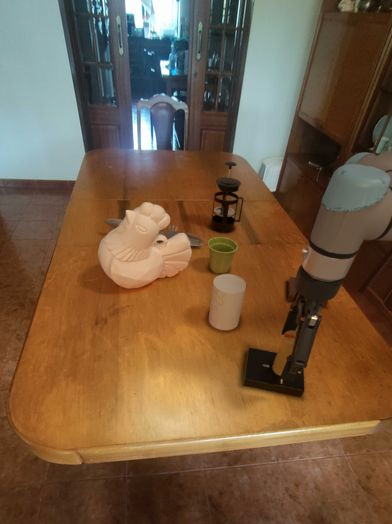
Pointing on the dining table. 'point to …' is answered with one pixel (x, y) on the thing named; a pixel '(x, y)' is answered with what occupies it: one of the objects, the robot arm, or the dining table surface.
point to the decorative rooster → (143, 248)
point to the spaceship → (192, 238)
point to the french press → (226, 204)
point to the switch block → (292, 290)
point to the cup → (226, 301)
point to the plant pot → (221, 253)
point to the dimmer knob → (284, 352)
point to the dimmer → (269, 374)
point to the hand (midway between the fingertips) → (287, 355)
